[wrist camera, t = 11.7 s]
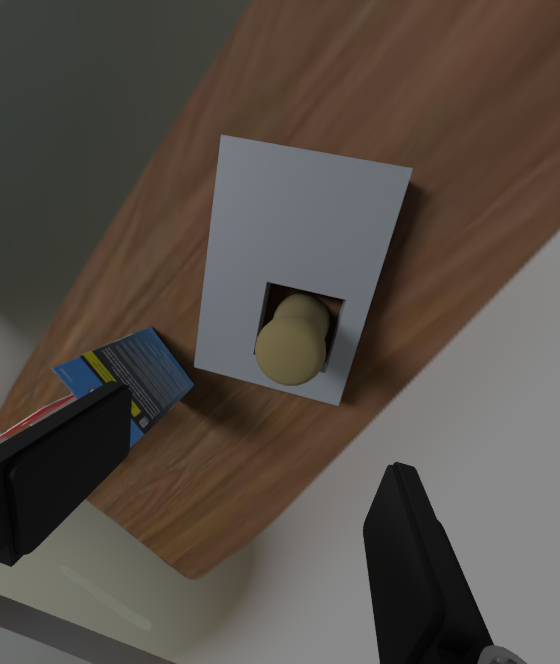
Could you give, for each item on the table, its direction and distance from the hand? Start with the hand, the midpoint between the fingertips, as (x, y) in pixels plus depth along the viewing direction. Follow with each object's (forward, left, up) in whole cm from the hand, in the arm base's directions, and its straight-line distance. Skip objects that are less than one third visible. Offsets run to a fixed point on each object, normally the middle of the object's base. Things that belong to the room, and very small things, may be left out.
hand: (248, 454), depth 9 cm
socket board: (+2, -4, -20) cm, 20 cm away
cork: (0, 0, -20) cm, 20 cm away
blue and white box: (+15, +9, -20) cm, 27 cm away
